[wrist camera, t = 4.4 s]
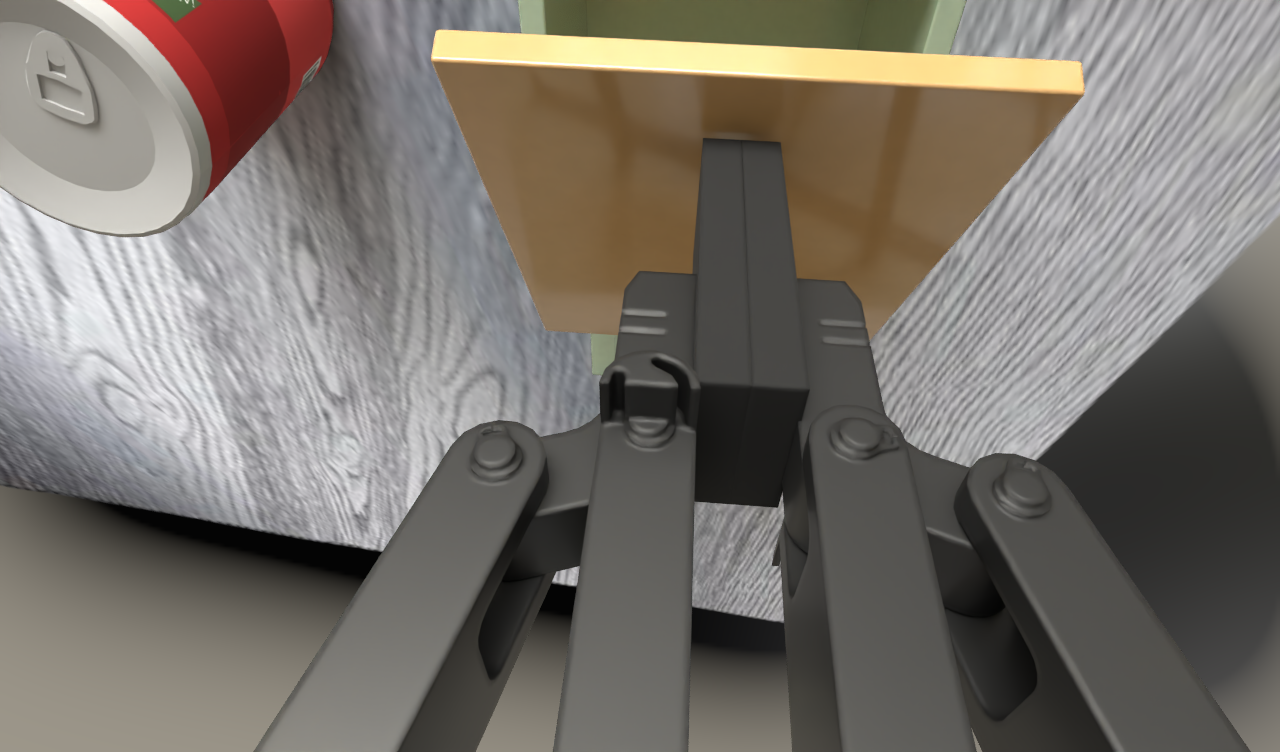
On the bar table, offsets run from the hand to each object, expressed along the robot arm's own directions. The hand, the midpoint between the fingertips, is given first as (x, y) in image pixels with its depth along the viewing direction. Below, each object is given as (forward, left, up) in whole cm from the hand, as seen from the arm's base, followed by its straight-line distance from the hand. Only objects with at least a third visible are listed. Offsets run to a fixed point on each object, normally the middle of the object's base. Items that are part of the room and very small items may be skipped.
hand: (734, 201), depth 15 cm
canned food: (+14, -12, -16) cm, 24 cm away
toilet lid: (+2, +2, -4) cm, 5 cm away
